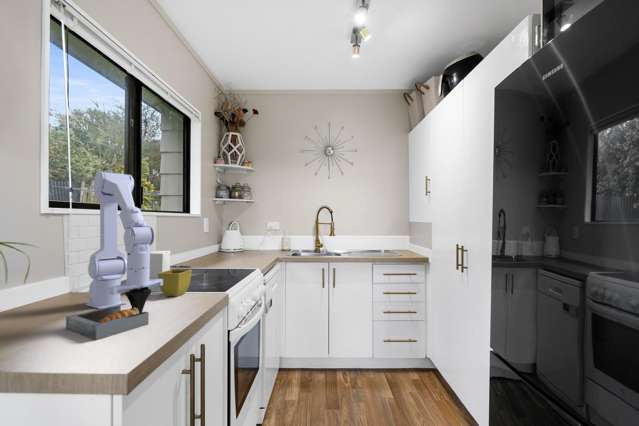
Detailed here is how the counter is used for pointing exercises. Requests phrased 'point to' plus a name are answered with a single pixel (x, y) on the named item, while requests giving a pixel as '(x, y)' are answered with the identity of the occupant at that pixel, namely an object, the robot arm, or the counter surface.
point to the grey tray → (92, 329)
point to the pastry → (120, 315)
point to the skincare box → (158, 266)
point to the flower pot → (175, 282)
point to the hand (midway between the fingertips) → (137, 314)
